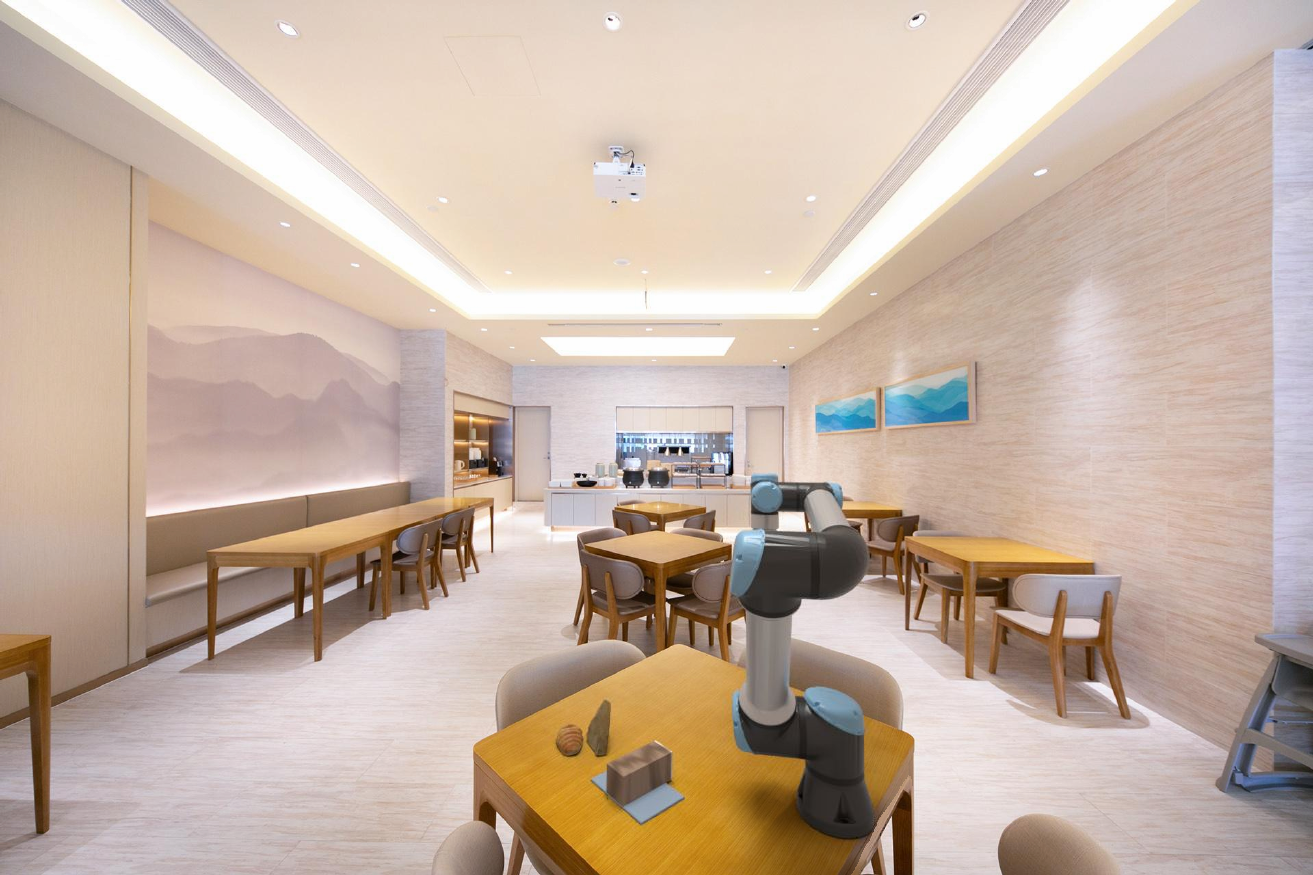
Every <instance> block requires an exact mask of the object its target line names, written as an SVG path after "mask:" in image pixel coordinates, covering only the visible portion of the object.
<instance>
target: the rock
mask: <svg viewBox="0 0 1313 875" xmlns="http://www.w3.org/2000/svg"><path fill="white" fill-rule="evenodd" d="M611 708H612V704H611V702H610V701H608V700H607V699H603V701H602V703H601V704H600V705H599V706H598V708H597V710H596V712H595V715H594V716H593V718H592V719H591V720H590V723H589V725H588V727H587V731H586V733H585V734H586V742H587V743H588V745H589V747H591V749H592V751H594V754H595V755H596V756H606V755H607V749H608V745H609V735H610V726H611V711H612V709H611Z"/></svg>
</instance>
